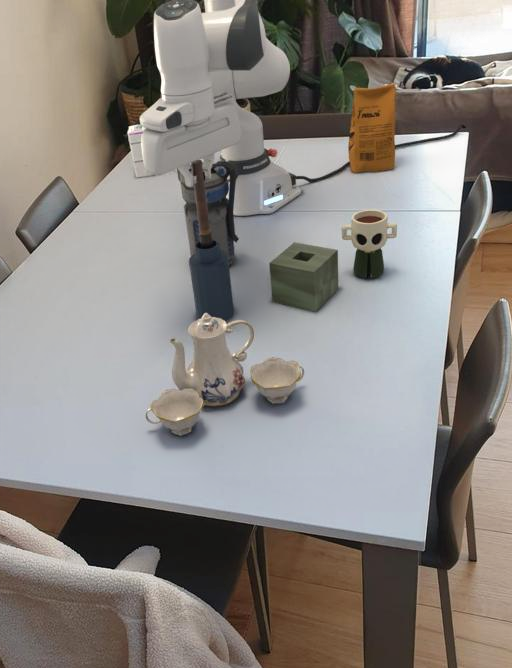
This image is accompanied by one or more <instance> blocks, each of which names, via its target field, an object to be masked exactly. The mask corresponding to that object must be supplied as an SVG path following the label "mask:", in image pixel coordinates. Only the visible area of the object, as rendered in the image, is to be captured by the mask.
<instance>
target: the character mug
mask: <svg viewBox="0 0 512 668" xmlns="http://www.w3.org/2000/svg"><path fill="white" fill-rule="evenodd" d="M350 219H351V220H350V224H345V225H342V226H341V239H342V240H344V241H351V243H352V245H353V247H354V248H355V249H356V250H355V255H354V261H353V269H352V270H353V273H354V275H355V276H357V277H360V278H364V279H365V278H367V275H368V274H370V278H375V277H376V278H377V277H379V276H380V275H382V274H383V273H384V271H385V264H384V256H383V249H382V248H384V247H385V246H386V243H387V241H388V239H395V238H397V235H398V224H397V223H395V222H388V220H389V219H388V214H387V213H386V212H385V211H382V210H380V209H372V208H371V209H363V210H362V209H361V210H359V211H356V212H355V213H353V214H352V216H351V218H350ZM388 229H391V233H388ZM348 231H350V235H348V233H347V232H348Z"/></svg>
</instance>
